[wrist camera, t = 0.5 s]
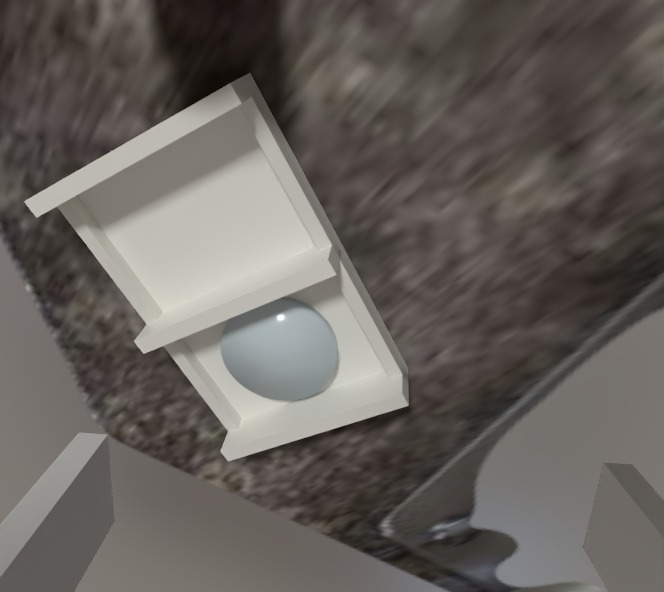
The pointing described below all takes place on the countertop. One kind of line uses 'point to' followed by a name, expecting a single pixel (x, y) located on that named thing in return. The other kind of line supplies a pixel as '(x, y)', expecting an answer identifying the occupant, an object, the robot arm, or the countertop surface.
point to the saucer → (280, 350)
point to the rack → (230, 261)
